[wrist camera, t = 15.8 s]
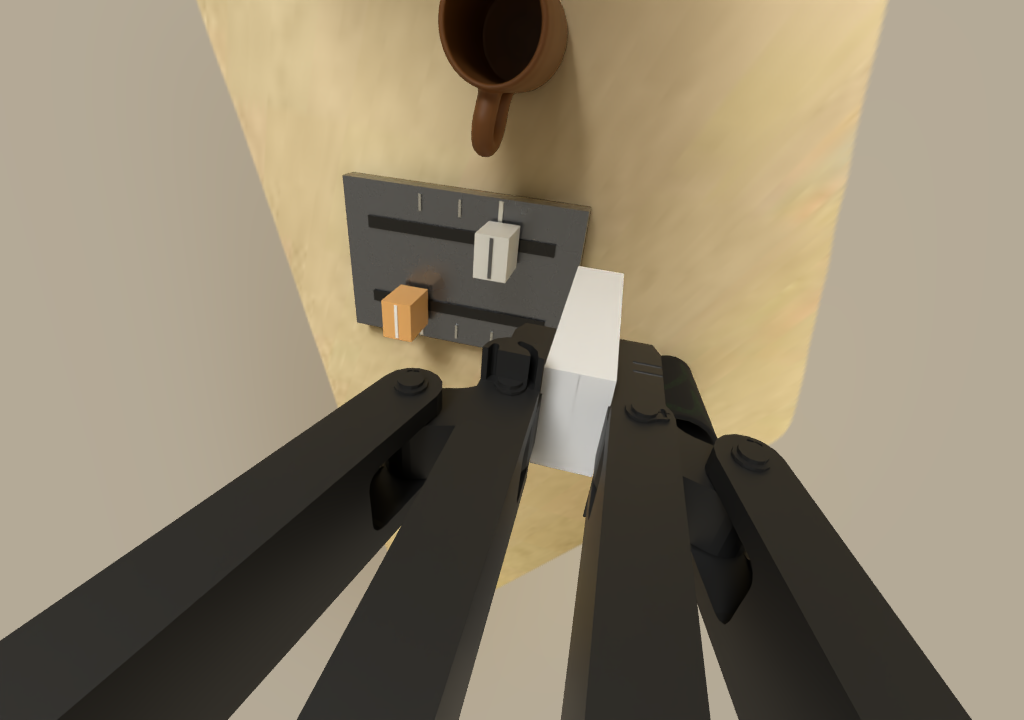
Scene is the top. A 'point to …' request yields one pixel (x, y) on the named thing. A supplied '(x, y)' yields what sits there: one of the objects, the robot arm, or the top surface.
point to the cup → (686, 400)
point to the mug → (501, 54)
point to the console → (459, 255)
